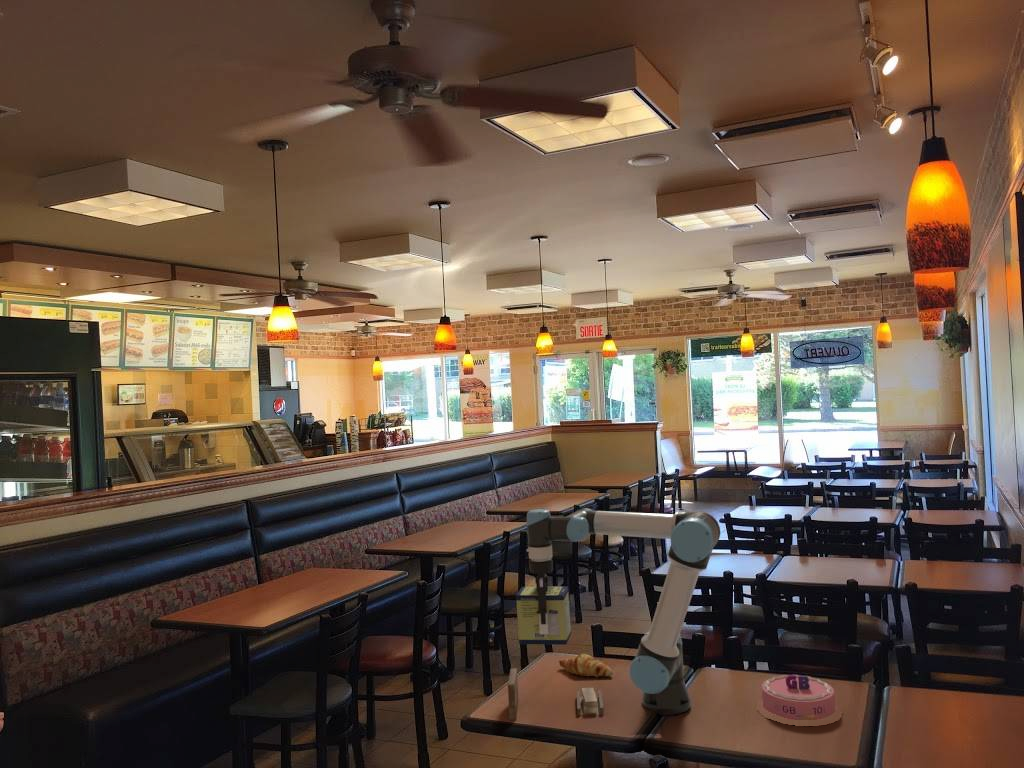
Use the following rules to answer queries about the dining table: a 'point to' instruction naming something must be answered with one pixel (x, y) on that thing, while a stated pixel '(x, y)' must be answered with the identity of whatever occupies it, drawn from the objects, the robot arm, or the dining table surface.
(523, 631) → the protein box
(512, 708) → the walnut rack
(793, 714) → the cake
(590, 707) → the offcut stack
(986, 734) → the dining table surface
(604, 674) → the croissant
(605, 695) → the dining table surface
